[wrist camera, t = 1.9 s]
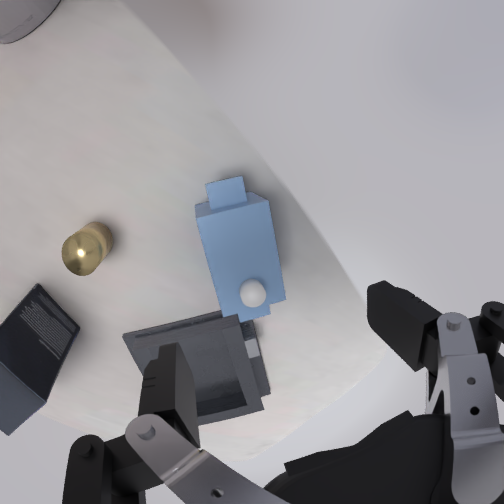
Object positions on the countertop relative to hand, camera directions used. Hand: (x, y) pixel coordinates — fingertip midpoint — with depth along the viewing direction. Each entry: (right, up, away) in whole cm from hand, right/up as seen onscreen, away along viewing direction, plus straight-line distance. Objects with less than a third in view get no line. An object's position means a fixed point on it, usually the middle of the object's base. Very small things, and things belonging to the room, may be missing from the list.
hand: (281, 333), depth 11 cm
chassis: (-6, -8, +16) cm, 19 cm away
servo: (-3, +4, +12) cm, 13 cm away
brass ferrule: (-14, +4, +10) cm, 17 cm away
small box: (-23, -5, +11) cm, 26 cm away
